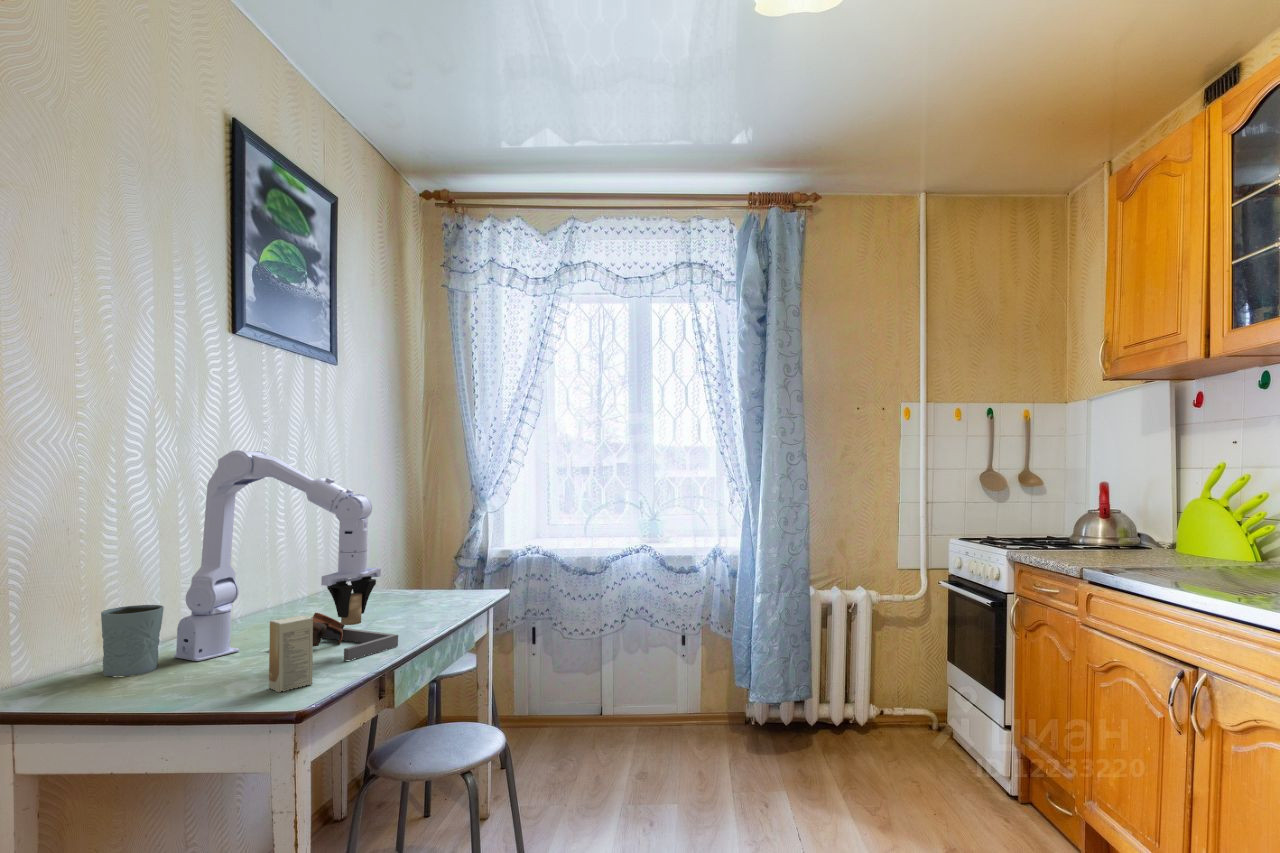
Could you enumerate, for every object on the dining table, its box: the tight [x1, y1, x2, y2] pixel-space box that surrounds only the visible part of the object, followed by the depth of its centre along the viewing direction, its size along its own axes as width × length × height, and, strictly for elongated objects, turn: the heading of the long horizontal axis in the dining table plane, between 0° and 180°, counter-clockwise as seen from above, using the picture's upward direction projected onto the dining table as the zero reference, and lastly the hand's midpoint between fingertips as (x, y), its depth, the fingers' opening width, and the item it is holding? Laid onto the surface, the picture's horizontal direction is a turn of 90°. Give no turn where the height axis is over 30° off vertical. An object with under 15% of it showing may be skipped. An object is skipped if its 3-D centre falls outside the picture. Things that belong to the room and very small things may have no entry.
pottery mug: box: [310, 612, 346, 648], centre depth 160 cm, size 12×10×8 cm
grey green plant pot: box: [100, 604, 165, 677], centre depth 140 cm, size 10×10×12 cm
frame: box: [322, 627, 399, 661], centre depth 158 cm, size 14×22×2 cm, turn 65°
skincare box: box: [268, 615, 314, 693], centre depth 130 cm, size 6×4×12 cm
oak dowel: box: [340, 592, 362, 626], centre depth 153 cm, size 4×4×6 cm
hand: (351, 615), depth 153 cm, fingers closed on oak dowel, 4 cm apart
